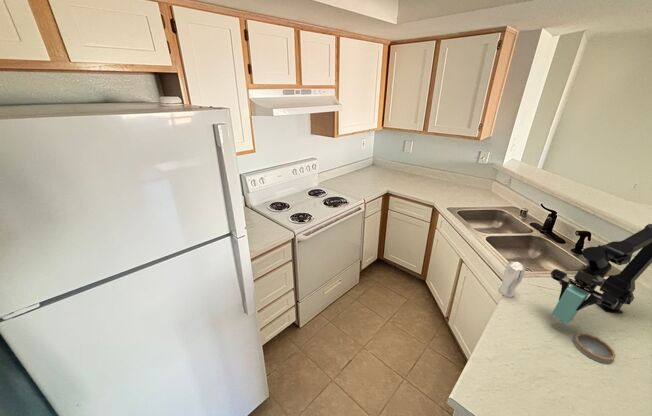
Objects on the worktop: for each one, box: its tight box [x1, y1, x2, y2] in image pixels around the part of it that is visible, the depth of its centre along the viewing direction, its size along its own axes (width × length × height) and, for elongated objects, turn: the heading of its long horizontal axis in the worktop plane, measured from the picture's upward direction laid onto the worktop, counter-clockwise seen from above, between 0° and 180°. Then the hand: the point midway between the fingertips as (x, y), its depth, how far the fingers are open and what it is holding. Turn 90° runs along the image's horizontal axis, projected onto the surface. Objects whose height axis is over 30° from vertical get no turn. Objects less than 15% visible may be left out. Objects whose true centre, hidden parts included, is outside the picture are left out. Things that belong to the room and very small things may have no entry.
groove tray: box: [572, 332, 616, 365], centre depth 93 cm, size 11×11×2 cm
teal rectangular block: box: [551, 284, 590, 325], centre depth 97 cm, size 5×5×13 cm
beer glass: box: [498, 261, 527, 298], centre depth 116 cm, size 7×7×15 cm
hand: (567, 305), depth 97 cm, fingers closed on teal rectangular block, 5 cm apart
